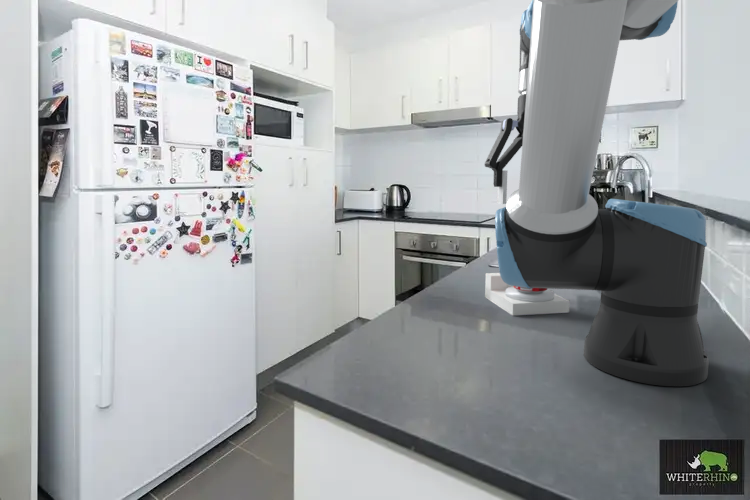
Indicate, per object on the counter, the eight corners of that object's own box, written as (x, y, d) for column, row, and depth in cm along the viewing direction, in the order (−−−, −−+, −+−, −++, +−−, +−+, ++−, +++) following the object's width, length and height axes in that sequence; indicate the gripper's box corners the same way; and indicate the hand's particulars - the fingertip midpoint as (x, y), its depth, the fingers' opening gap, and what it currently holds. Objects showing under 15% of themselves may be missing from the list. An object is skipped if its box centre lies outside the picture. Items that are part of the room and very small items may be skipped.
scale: (569, 312, 87) (570, 285, 86) (512, 315, 85) (513, 287, 84) (534, 294, 101) (535, 271, 100) (485, 297, 99) (485, 273, 98)
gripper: (585, 98, 90) (579, 201, 93) (470, 96, 86) (467, 203, 89) (609, 91, 82) (602, 202, 85) (484, 88, 79) (481, 204, 82)
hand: (533, 203), depth 87 cm, fingers open, 13 cm apart
